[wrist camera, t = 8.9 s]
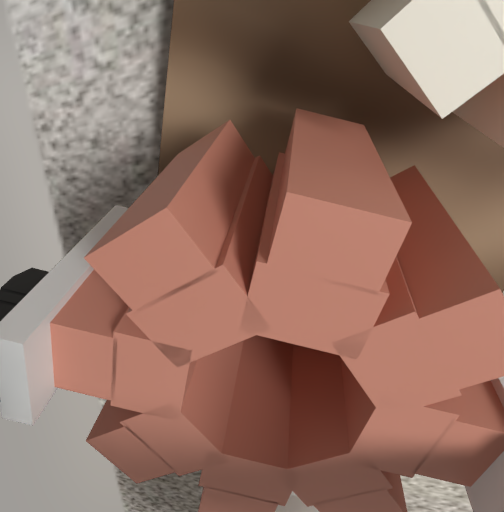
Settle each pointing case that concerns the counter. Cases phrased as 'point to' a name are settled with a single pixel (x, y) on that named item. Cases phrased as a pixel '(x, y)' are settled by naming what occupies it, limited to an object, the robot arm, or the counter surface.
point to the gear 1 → (288, 328)
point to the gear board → (322, 102)
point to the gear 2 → (442, 55)
